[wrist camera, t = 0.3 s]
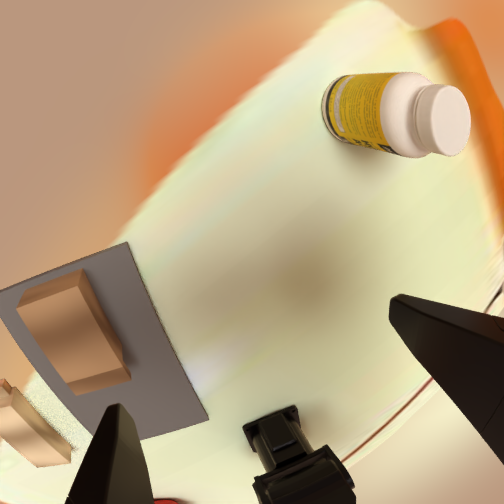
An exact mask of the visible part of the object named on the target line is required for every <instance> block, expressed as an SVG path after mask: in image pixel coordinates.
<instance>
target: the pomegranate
mask: <svg viewBox="0 0 504 504" xmlns="http://www.w3.org/2000/svg"><path fill="white" fill-rule="evenodd" d="M154 503H155V504H179V503H177V502H175V501H173V500H157V501H154Z"/></svg>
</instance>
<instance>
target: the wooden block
mask: <svg viewBox="0 0 504 504" xmlns="http://www.w3.org/2000/svg"><path fill="white" fill-rule="evenodd" d="M16 310H17V312H18V313H19V315H20V317H21V318H22V320H23V322H24V323H25V325H26V326H27V328H28V330H29V331H30V333H31V334H32V336H33V337H34V339H35V341H36V342H37V344H38V345H39V347H40V348H41V350H42V351H43V352H44V354H45V355H46V357H47V358H48V360H49V361H50V362H51V364H52V365H53V367H54V368H55V369H56V371H57V372H58V373H59V375H60V376H61V377H62V379H63V380H64V381H65V383H66V384H67V385H68V386H69V388H70V389H71V390H72V391H73V393H74V394H75V395H76V396H77V395H81V394H85V393H89V392H92V391H96V390H100V389H103V388H107V387H110V386H114V385H117V384H121V383H124V382H127V381H131V380H132V379H131V372H130V371H129V369H128V367H127V366H126V364H125V363H124V361H123V356H122V344H121V342H120V340H119V339H118V337H117V335H116V333H115V331H114V330H113V328H112V326H111V324H110V322H109V320H108V318H107V317H106V315H105V313H104V311H103V309H102V307H101V305H100V303H99V301H98V299H97V297H96V295H95V293H94V291H93V289H92V287H91V285H90V283H89V281H88V278H87V276H86V274H85V272H84V270H83V268H81V269H78V270H76V271H73V272H70V273H68V274H65V275H62V276H60V277H57V278H54V279H52V280H49V281H47V282H44V283H41V284H39V285H36V286H34V287H31V288H29V289H26V290H25V291H24V293H23V295H22V297H21V299H20V301H19V303H18V305H17V307H16Z"/></svg>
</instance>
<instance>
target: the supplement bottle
mask: <svg viewBox="0 0 504 504" xmlns="http://www.w3.org/2000/svg"><path fill="white" fill-rule="evenodd" d="M322 111H323V116H324V120H325V123H326V125H327V127H328V129H329V130H330V132H331V133H332V134H333V135H334V136H335V137H337V138H338V139H339V140H341V141H343V142H346V143H350V144H353V145H359V146H364V147H368V148H372V149H377V150H381V151H385V152H389V153H393V154H396V155H400V156H404V157H409V158H421V157H424V156H426V155H428V154H430V153H431V152H433V153H436V154H441V155H445V156H455V155H457V154H459V153H460V152H461V151H462V150H463V149H464V147H465V145H466V143H467V141H468V138H469V134H470V127H471V118H470V111H469V107H468V103H467V101H466V99H465V97H464V95H463V94H462V93H461V92H460V90H458V89H457V88H455V87H453V86H450V85H439V84H433V83H432V82H431V81H430V80H429V79H428V78H426V77H425V76H423V75H421V74H418V73H413V72H395V73H368V74H353V75H345V76H341V77H339V78H337V79H335V80H334V81H333V82H332V83H331V84H330V85H329V86H328V88H327V89H326V91H325V94H324V97H323V102H322Z"/></svg>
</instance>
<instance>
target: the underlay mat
mask: <svg viewBox="0 0 504 504" xmlns="http://www.w3.org/2000/svg"><path fill="white" fill-rule="evenodd" d="M81 268H83V270H84V272H85V274H86V276H87V278H88V281H89V283H90V285H91V287H92V289H93V291H94V293H95V295H96V297H97V299H98V301H99V303H100V305H101V307H102V309H103V311H104V313H105V315H106V317H107V318H108V320H109V322H110V324H111V326H112V328H113V330H114V331H115V333H116V335H117V337H118V339H119V340H120V342H121V344H122V356H123V361H124V363H125V364H126V366H127V367H128V369H129V371H130V372H131V379H132V380H131V381H127V382H124V383H121V384H117V385H114V386H110V387H107V388H103V389H100V390H96V391H92V392H89V393H85V394H81V395H77V396H76V395H75V394H74V393H73V391H72V390H71V389H70V388H69V386H68V385H67V384H66V383H65V381H64V380H63V379H62V377H61V376H60V375H59V373H58V372H57V371H56V369H55V368H54V367H53V365H52V364H51V362H50V361H49V360H48V358H47V357H46V355H45V354H44V352H43V351H42V350H41V348H40V347H39V345H38V344H37V342H36V341H35V339H34V337H33V336H32V334H31V333H30V331H29V330H28V328H27V326H26V325H25V323H24V322H23V320H22V318H21V317H20V315H19V313H18V312H17V310H16V307H17V305H18V303H19V301H20V299H21V297H22V295H23V293H24V291H25V290H26V289H29V288H31V287H34V286H36V285H39V284H41V283H44V282H47V281H49V280H52V279H54V278H57V277H60V276H62V275H65V274H68V273H70V272H73V271H76V270H78V269H81ZM0 318H1V319H2V321H3V322H4V324H5V326H6V327H7V329H8V330H9V332H10V333H11V335H12V337H13V338H14V340H15V341H16V343H17V344H18V346H19V347H20V349H21V350H22V351H23V353H24V354H25V356H26V357H27V358H28V360H29V361H30V362H31V364H32V365H33V367H34V368H35V369H36V371H37V372H38V373H39V375H40V376H41V377H42V379H43V380H44V381H45V382H46V384H47V385H48V386H49V387H50V389H51V390H52V391H53V392H54V393H55V395H56V396H57V397H58V398H59V399H60V401H61V402H62V403H63V404H64V405H65V406H66V408H67V409H68V410H69V411H70V412H71V413H72V414H73V415H74V417H75V418H76V419H77V420H78V421H79V422H80V423H81V424H82V425H83V426H84V427H85V428H86V429H87V430H88V431H89V432H90V433H91V435H92V436H94V434H95V432H96V430H97V427H98V425H99V423H100V421H101V419H102V417H103V414H104V412H105V410H106V408H107V407H108V406H109V405H112V404H115V403H121V404H122V405H123V406H124V407H125V409H126V410H127V411H128V413H129V414H130V415H131V417H132V418H133V420H134V422H135V425H136V429H137V432H138V436H139V440H144V439H147V438H151V437H155V436H158V435H162V434H166V433H169V432H172V431H176V430H179V429H182V428H186V427H189V426H192V425H195V424H198V423H201V422H204V421H207V420H209V418H208V416H207V414H206V412H205V410H204V408H203V407H202V405H201V403H200V401H199V399H198V397H197V396H196V394H195V392H194V390H193V388H192V386H191V384H190V382H189V380H188V378H187V377H186V375H185V373H184V371H183V369H182V367H181V365H180V363H179V361H178V359H177V357H176V355H175V353H174V351H173V348H172V346H171V344H170V342H169V340H168V338H167V336H166V334H165V332H164V329H163V327H162V325H161V323H160V321H159V319H158V316H157V314H156V312H155V310H154V307H153V305H152V303H151V300H150V298H149V296H148V293H147V291H146V289H145V286H144V284H143V282H142V279H141V277H140V274H139V272H138V269H137V267H136V264H135V262H134V259H133V257H132V254H131V252H130V249H129V246H128V244H127V242H125V243H122V244H119V245H116V246H113V247H111V248H108V249H105V250H102V251H100V252H97V253H94V254H91V255H89V256H86V257H84V258H81V259H78V260H75V261H73V262H70V263H68V264H65V265H62V266H60V267H57V268H54V269H52V270H50V271H47V272H44V273H42V274H39V275H37V276H34V277H32V278H29V279H27V280H24V281H22V282H19V283H17V284H14V285H12V286H9V287H7V288H5V289H2V290H0Z"/></svg>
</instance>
